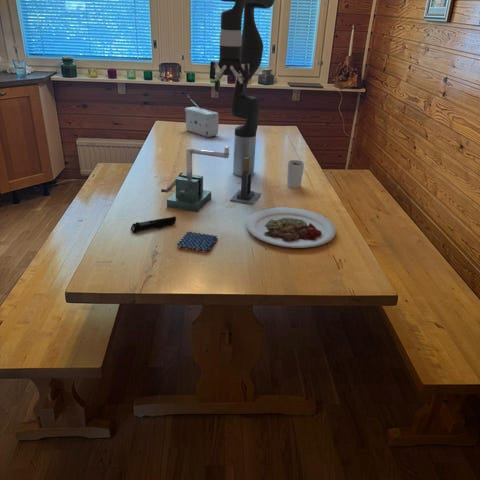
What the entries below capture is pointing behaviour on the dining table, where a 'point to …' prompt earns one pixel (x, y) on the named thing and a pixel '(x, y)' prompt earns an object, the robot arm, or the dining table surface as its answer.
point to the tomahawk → (170, 185)
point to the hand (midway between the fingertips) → (229, 93)
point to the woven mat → (197, 242)
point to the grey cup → (295, 173)
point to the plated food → (291, 227)
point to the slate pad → (245, 200)
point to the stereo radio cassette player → (201, 121)
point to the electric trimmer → (152, 224)
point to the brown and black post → (246, 180)
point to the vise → (192, 185)
